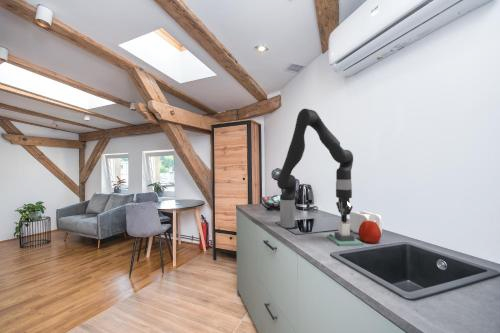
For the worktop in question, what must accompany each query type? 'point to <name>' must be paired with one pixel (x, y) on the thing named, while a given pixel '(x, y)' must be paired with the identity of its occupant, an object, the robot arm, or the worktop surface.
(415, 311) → the worktop surface
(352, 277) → the worktop surface
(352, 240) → the board
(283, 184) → the robot arm
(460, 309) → the worktop surface
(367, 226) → the apple
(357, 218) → the cable organizer
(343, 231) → the plug
